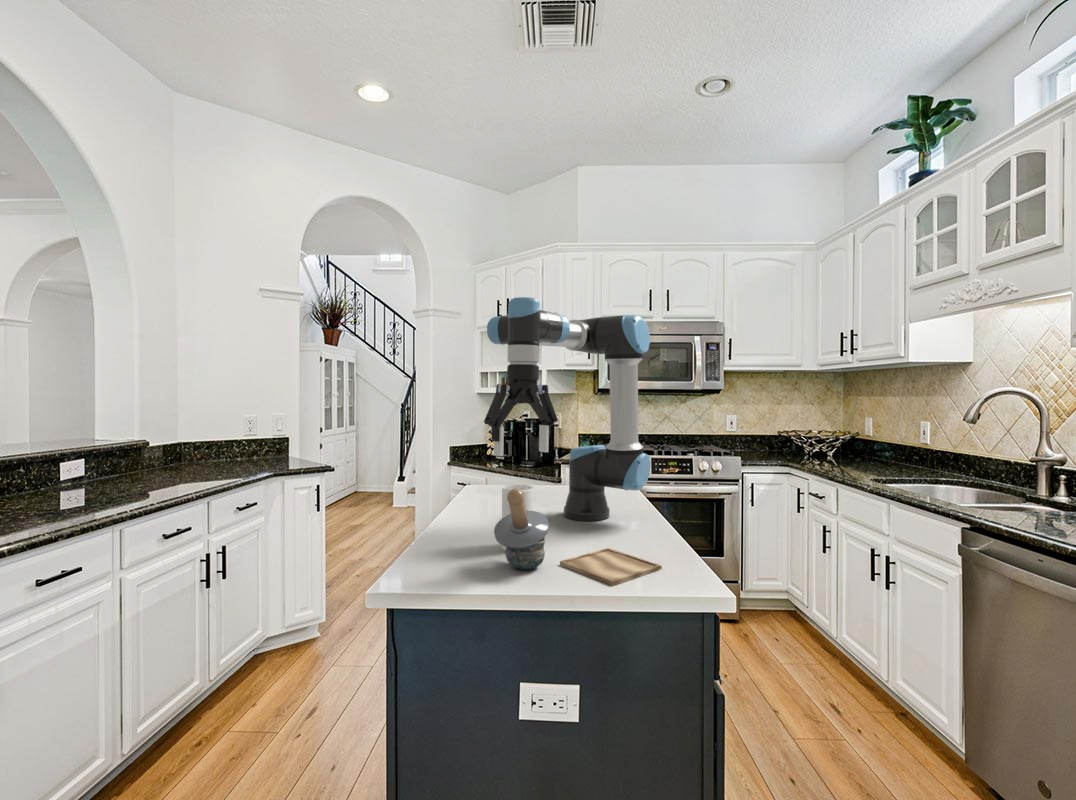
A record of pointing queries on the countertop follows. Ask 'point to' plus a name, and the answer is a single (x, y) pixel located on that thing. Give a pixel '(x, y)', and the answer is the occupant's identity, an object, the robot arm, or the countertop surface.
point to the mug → (526, 555)
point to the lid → (520, 524)
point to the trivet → (610, 566)
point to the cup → (528, 499)
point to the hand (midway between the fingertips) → (521, 453)
